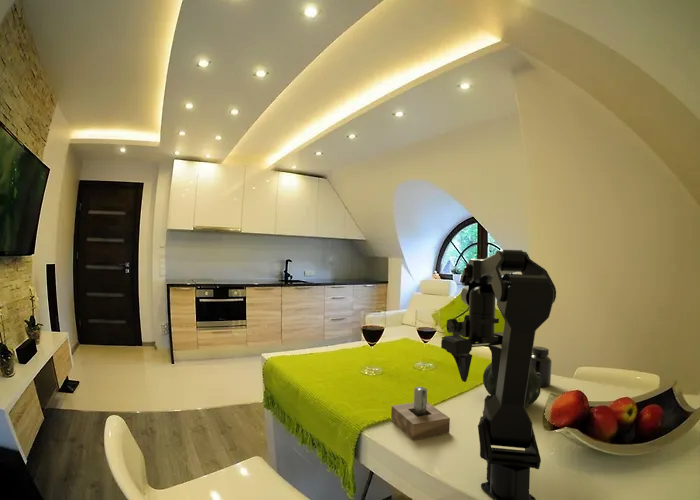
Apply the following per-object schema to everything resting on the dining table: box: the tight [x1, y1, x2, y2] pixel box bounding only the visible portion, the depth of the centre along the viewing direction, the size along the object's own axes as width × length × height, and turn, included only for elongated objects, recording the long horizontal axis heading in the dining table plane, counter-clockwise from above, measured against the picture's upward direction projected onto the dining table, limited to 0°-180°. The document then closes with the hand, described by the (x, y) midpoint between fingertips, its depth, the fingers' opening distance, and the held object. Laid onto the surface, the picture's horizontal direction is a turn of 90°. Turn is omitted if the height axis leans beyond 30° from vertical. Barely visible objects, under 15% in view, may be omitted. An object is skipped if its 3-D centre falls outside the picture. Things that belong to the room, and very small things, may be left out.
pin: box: [413, 386, 428, 417], centre depth 86 cm, size 3×3×9 cm
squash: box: [482, 361, 542, 408], centre depth 102 cm, size 14×15×15 cm
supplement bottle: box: [531, 345, 552, 388], centre depth 118 cm, size 7×7×12 cm
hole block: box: [390, 401, 451, 441], centre depth 86 cm, size 10×10×4 cm
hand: (479, 379), depth 83 cm, fingers open, 9 cm apart
